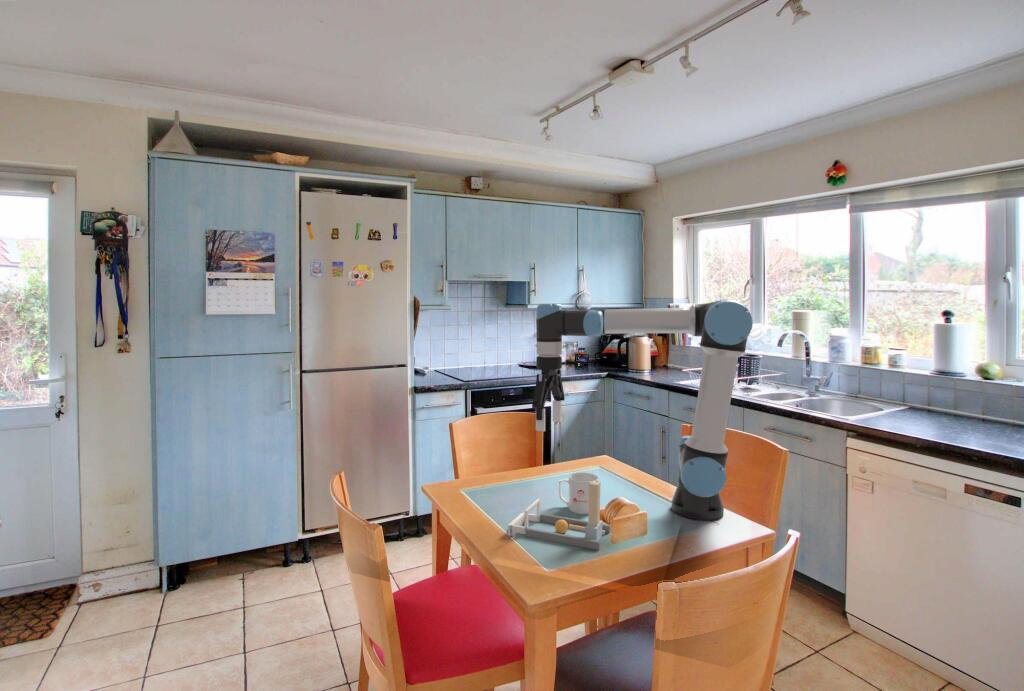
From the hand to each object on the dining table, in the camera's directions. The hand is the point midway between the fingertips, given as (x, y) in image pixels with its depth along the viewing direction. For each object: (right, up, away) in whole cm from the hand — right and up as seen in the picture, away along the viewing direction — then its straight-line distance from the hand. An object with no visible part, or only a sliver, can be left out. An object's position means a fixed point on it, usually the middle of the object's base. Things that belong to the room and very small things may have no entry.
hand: (549, 426), depth 164 cm
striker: (+10, -27, -20) cm, 35 cm away
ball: (+2, -25, -16) cm, 30 cm away
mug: (+9, -27, +2) cm, 28 cm away
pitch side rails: (+4, -28, -17) cm, 33 cm away
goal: (-8, -27, -11) cm, 31 cm away
